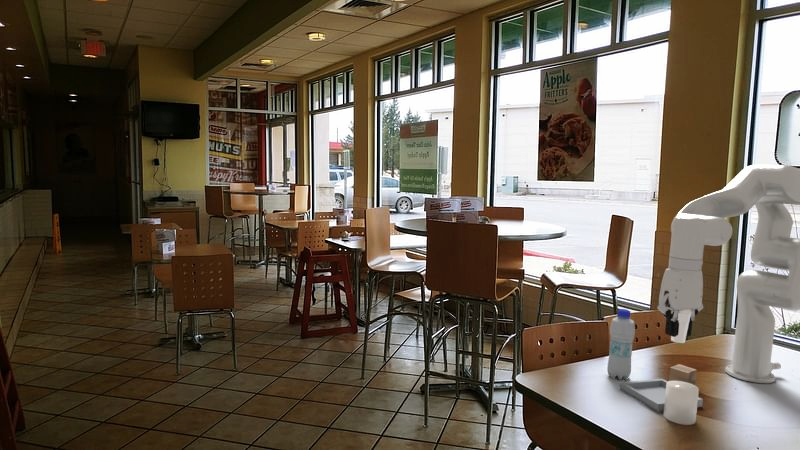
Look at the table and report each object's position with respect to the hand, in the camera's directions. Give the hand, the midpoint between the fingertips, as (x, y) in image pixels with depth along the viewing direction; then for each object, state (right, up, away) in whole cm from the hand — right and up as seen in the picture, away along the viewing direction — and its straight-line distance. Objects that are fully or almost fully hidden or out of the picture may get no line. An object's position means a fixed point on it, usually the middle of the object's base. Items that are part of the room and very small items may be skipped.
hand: (677, 334), depth 144 cm
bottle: (-9, -16, +17) cm, 25 cm away
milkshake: (0, -2, 0) cm, 2 cm away
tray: (-3, -17, +3) cm, 18 cm away
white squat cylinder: (-4, -19, -9) cm, 21 cm away
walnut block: (+7, -17, +12) cm, 22 cm away
